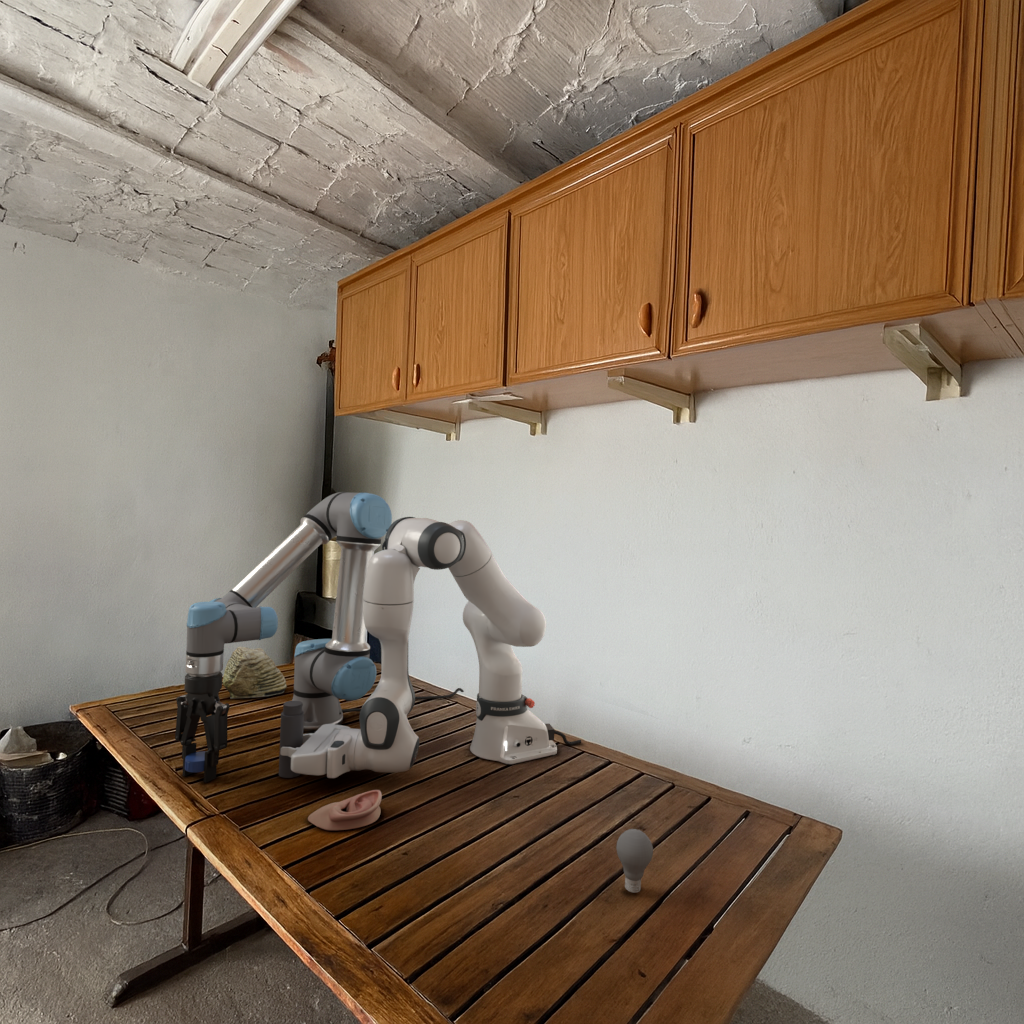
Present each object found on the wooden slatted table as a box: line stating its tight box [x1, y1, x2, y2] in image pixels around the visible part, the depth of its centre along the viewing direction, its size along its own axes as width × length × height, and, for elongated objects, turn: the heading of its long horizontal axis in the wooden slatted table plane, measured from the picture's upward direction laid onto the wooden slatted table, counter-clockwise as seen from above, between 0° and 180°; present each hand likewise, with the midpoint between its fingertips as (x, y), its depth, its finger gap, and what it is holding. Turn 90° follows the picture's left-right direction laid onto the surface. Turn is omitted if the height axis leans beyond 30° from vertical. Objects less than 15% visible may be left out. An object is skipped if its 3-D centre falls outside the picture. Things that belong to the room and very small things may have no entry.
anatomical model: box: [307, 789, 383, 831], centre depth 126 cm, size 13×4×12 cm
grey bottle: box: [278, 700, 304, 779], centre depth 144 cm, size 5×5×16 cm
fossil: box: [222, 646, 288, 699], centre depth 198 cm, size 9×18×15 cm, turn 132°
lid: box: [185, 750, 206, 773], centre depth 140 cm, size 6×6×2 cm
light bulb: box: [615, 828, 654, 894], centre depth 106 cm, size 6×6×10 cm
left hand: (199, 776), depth 140 cm, fingers closed on lid, 6 cm apart
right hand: (287, 744), depth 144 cm, fingers closed on grey bottle, 5 cm apart
